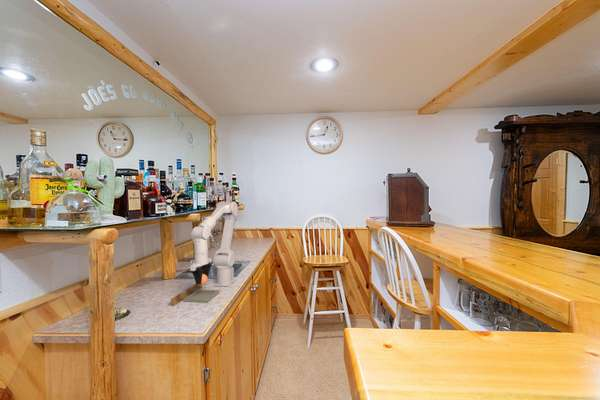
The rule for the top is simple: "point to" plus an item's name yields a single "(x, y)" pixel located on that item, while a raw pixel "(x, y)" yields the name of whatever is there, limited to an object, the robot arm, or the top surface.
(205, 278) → the ball
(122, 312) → the log
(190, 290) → the wooden plank
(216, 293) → the tray
